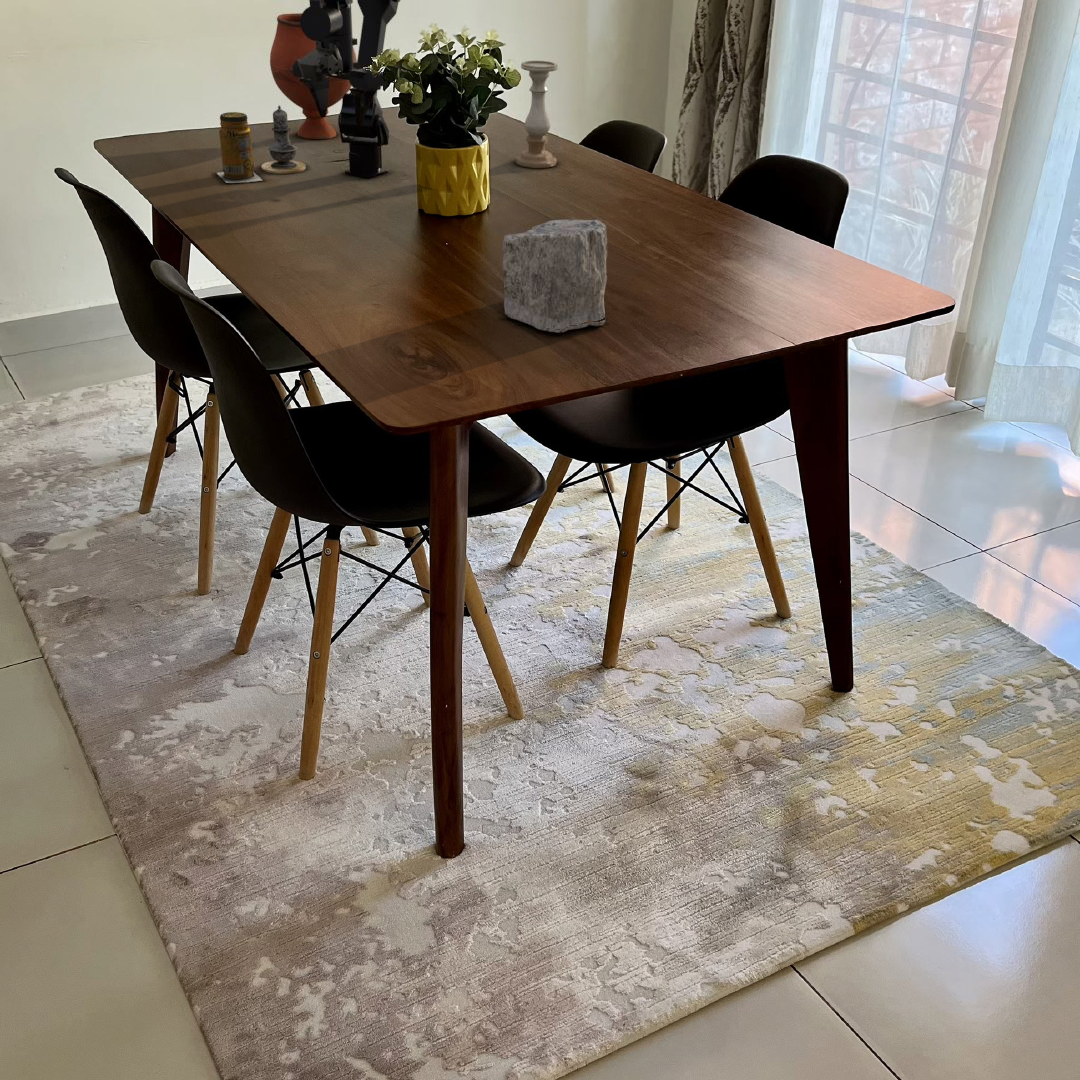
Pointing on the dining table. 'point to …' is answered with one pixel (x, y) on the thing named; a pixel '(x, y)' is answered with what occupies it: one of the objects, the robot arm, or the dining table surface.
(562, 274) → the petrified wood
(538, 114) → the candle holder
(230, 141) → the condiment
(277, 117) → the grey carved stone piece
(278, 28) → the goblet
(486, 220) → the dining table surface
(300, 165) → the coaster
